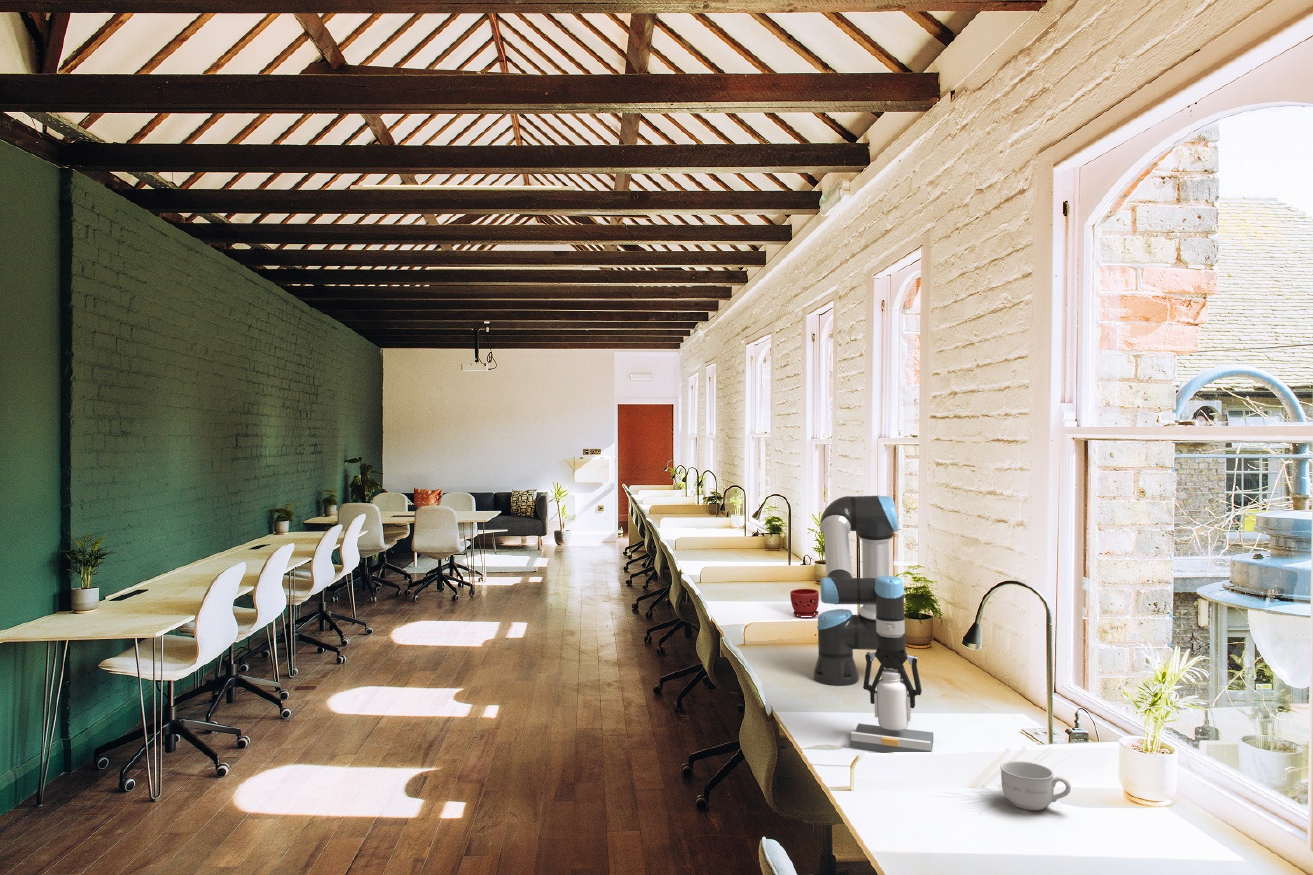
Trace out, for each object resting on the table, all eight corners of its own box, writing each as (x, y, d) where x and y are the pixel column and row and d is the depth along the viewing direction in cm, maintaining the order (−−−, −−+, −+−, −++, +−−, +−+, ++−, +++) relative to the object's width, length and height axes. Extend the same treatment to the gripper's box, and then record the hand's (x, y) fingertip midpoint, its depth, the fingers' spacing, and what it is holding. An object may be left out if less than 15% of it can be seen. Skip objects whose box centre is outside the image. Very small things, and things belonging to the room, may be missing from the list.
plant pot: (803, 611, 362) (802, 587, 362) (825, 616, 352) (824, 590, 352) (785, 616, 354) (784, 590, 354) (807, 620, 344) (806, 594, 344)
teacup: (993, 804, 168) (992, 768, 168) (1012, 788, 176) (1011, 754, 176) (1061, 826, 158) (1059, 788, 158) (1077, 807, 166) (1076, 771, 166)
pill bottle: (873, 726, 204) (871, 671, 204) (885, 718, 210) (883, 664, 210) (901, 733, 199) (900, 676, 199) (913, 724, 205) (911, 669, 205)
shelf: (858, 730, 213) (858, 716, 213) (933, 739, 205) (933, 724, 205) (851, 748, 200) (850, 733, 200) (930, 759, 192) (930, 743, 192)
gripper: (849, 634, 206) (852, 717, 205) (929, 640, 197) (932, 727, 197) (854, 628, 213) (856, 708, 212) (931, 633, 204) (934, 717, 204)
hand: (893, 717), depth 205 cm, fingers closed on pill bottle, 8 cm apart
